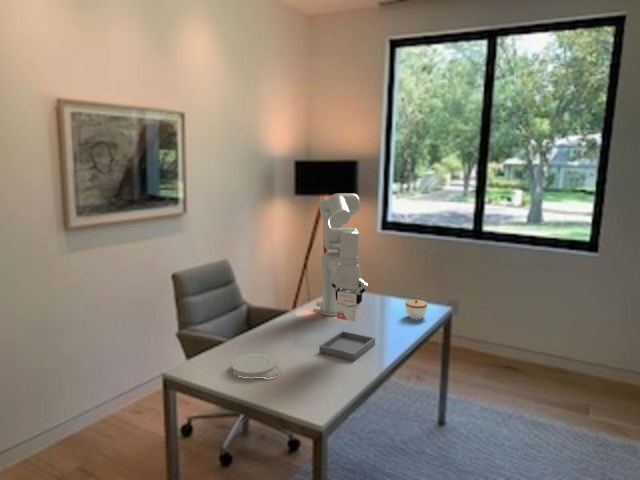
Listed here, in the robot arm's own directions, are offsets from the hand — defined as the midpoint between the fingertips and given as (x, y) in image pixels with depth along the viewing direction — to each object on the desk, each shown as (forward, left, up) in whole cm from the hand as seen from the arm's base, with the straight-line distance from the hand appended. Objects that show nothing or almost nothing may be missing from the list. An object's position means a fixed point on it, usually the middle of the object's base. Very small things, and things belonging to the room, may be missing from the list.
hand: (348, 301), depth 200 cm
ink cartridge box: (0, 0, -8) cm, 8 cm away
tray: (0, 0, -21) cm, 21 cm away
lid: (-20, -36, -21) cm, 46 cm away
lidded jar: (+11, +52, -21) cm, 57 cm away
